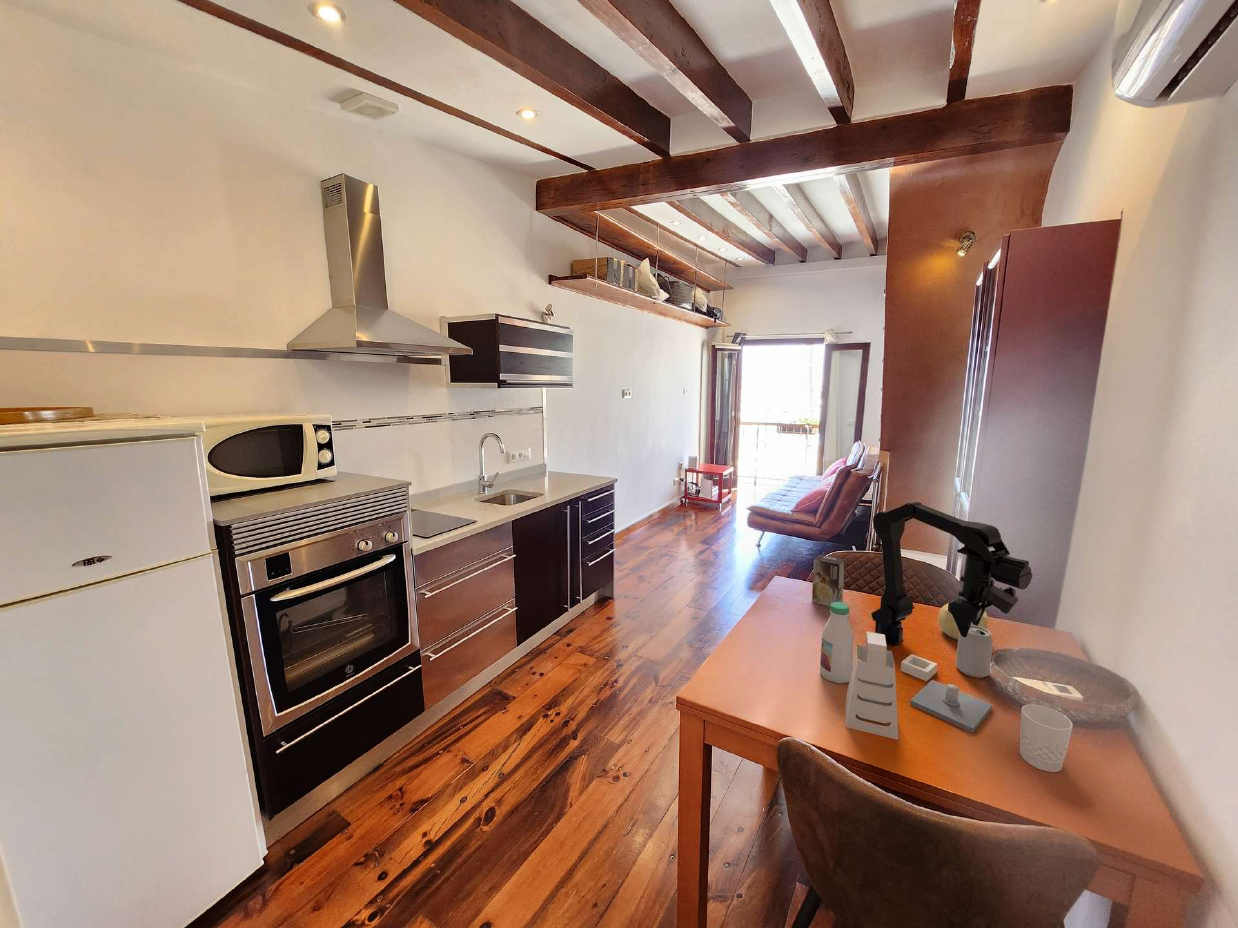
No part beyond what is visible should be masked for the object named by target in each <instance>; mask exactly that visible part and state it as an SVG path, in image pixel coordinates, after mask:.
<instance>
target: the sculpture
mask: <svg viewBox="0 0 1238 928" xmlns="http://www.w3.org/2000/svg"><path fill="white" fill-rule="evenodd" d="M949 603H950V602H948V603H946V604H944V605H943V606H942V607H941V608H940V610H939V611H938V616H937V617H938V618H937V619H938V626H939V627H940V629H941V630H942V632H943V633H944V634H946V635H947V636H948V637H950V638H952V639H953V640H956V641H958V638H959V630H958V627H957V625H956V622H955V620H954V618H953V616H952V614H951V613H950V612H949V611H948V604H949ZM988 616H989V615H988V613H987V612H986V611H985V612H984V614H983V616H982V618H981V621H980V623H979V625H978V626H979V627H982V628H985V629H987V630H988V624H989V620H990V619H989V617H988ZM971 625H973V623H972V624H971ZM974 626H976V625H974Z"/></svg>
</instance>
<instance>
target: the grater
mask: <svg viewBox="0 0 1238 928" xmlns="http://www.w3.org/2000/svg"><path fill="white" fill-rule="evenodd" d="M865 637H866V638H865V646H863V645H858V644H857V645H856V649H855V653H854V656H853V663H852V672H851V677H850V681H849V682H848V686H847V691H846V697H845V728H848V729H852V730H857V731H862V732H865V733H868V734H869V733H870V734H874V735H877V736H882V737H886V738H890V739H893V740H896V741H897V740H899V727H898V725H899V723H898V706H897V702H898V701H897V684H896V681H897V680H896V668H895V660H894V653H893V651H892V650H887V644H886V640H885V635H884V634H878V633H875V632H872V631H866V636H865ZM857 716H858V717H859V718H860V719H861V718H862V719H864V720H869V722H868V721H864V720H860V719H859V718H857ZM870 721H873V722H878V723H883V724H889V723H890V725H886V726H885V725H882V724H881V725H880V724H877V723H872V722H870Z"/></svg>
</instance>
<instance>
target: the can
mask: <svg viewBox="0 0 1238 928" xmlns="http://www.w3.org/2000/svg"><path fill="white" fill-rule="evenodd" d="M993 646H994V638H993V636H992V632H991V631H989V630H988V628H987V629H985V628H982V627H979V626H974V625H971V627H970V630H969V632H968V635H967V637H966V638H965V637H962V636H961V634H960V632H959V638H958V640H957V648H956V649H957V650H956V658H955V666H956V668H957V669H958V670H959V671H960V672H961V673H962V674H964V675H967V676H969V677H971V678H972V677H973V678H977V679H979V678H980V679H983V678H986V677H988V676H989V675H990V671H991V665H990V663H991V664H992V656H993V655H992V654H993V649H994V647H993Z"/></svg>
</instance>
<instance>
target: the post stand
mask: <svg viewBox="0 0 1238 928" xmlns="http://www.w3.org/2000/svg"><path fill="white" fill-rule="evenodd" d="M909 705H911V706H913V707H915V708H917V709H920V710H921V711H923V712H925V713H927V714H930V715H932V716H934V717H936V718H939V719H940V720H943V721H945V722H948V723H949V724H952V725H954V726H956V727H958V728H960V729H961V730H962V729H963V730H965V731H966V732H968V733H972V734H973V733H974V732H975V731H976V730H977V728H978V727H979V726H980V725H981V724H982V722H983V721H985V719H986V718H987V716H988V715H989V714H990V712H992V710H993V706H994V705H993V704H992V703H990V702H987V701H985V700H982V699H979V698H977V697H975V696H972V695H970V694H968V693H965V692H963V691H960V688H959V687H958V686H957V685H955V684H952V683H948V684H943V683H940V682H938V681H936V680H933V679H931V680H930V681H929V682H928V683H927V684H926V685H924V687H923V688H921V690H919V691H918V692H917V693H916V694H915V695H914V696H913V697H912V698H911V699H910V700H909Z"/></svg>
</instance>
